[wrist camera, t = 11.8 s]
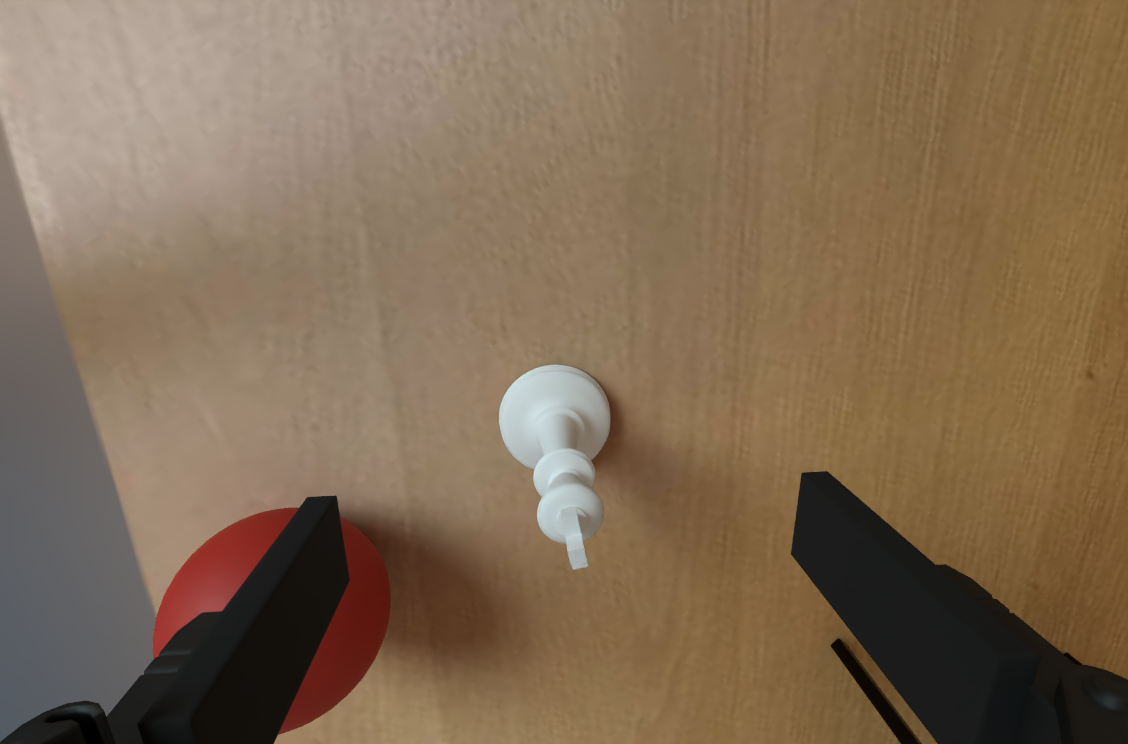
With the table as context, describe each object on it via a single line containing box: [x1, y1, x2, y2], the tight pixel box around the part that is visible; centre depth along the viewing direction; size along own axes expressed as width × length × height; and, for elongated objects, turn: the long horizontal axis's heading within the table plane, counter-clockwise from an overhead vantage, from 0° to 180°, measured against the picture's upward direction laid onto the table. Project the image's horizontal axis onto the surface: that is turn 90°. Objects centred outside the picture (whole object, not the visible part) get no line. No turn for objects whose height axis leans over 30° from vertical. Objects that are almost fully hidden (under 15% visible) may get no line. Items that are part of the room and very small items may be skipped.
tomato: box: [153, 508, 391, 734], centre depth 20 cm, size 8×8×9 cm
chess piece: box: [499, 365, 610, 570], centre depth 19 cm, size 5×5×10 cm
